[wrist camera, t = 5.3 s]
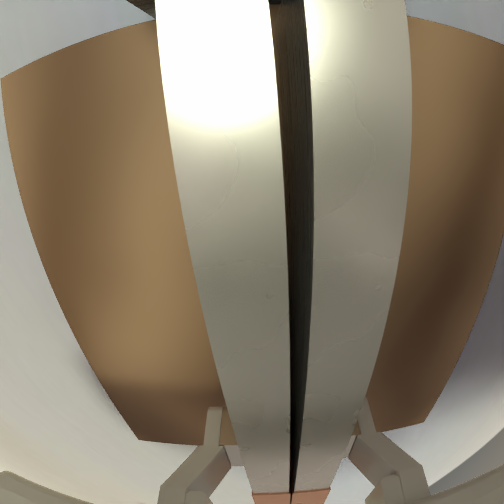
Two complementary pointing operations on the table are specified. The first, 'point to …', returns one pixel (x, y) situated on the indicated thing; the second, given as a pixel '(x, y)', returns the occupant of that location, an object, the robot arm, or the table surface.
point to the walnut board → (175, 239)
